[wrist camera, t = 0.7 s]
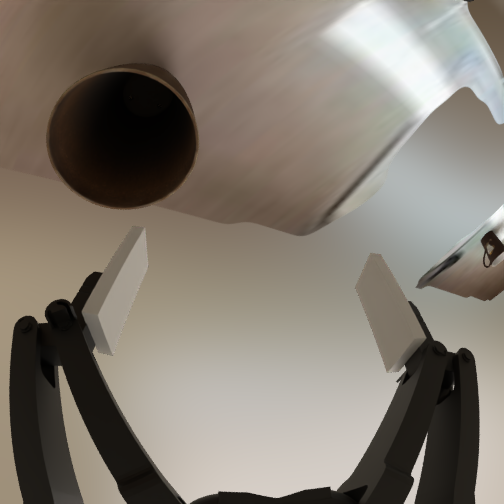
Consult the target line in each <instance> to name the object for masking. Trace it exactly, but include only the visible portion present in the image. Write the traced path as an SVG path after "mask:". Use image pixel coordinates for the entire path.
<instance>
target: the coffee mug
mask: <svg viewBox="0 0 504 504" xmlns="http://www.w3.org/2000/svg"><path fill="white" fill-rule="evenodd" d="M481 243H482V245H483V247H484V249H485V252H484V257H483V264H484V266H485V267H486V268H488V267H490V265H492V266H496V265H497V264H499V263H500V262H501V261H502V260H503V259H504V245H503V244H502V242H501V241H500V240H499V239H498V237H497V236H496V235H495V234H494V233H493V231H490V232H488V233H487V234H485V235H484V237H483V238H482V240H481ZM486 253H487V256H488V258H489V260H490V264H489V266H486V265H485V261H484V260H485V254H486Z"/></svg>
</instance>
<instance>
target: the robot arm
mask: <svg viewBox="0 0 504 504" xmlns="http://www.w3.org/2000/svg"><path fill="white" fill-rule="evenodd" d="M147 268H148V257H147V246H146V233H145V227H139V226H132V228H131V229H130V231H129V232H128V234H127V235H126V237H125V238H124V240H123V242H122V243H121V244H120V246H119V248H118V249H117V251H116V252H115V254H114V256H113V257H112V259H111V261H110V262H109V264H108V266H107V267H106V269H105V270H104V272H103V273H100V272H93V273H92V274H91V275H89V276H88V277H87V278H86V280H85V281H84V283H83V285H82V286H81V288H80V290H79V292H78V293H77V295H76V297H75V298H74V300H73V302H72V303H70V302H69V301H67V300H64V299H59V300H55V301H53V302H51V303H50V304H49V305H48V306H47V308H46V310H45V317H46V319H47V321H48V323H39V324H38V323H37V321H36V319H35V318H34V317H32V316H24V317H22V318H20V319H19V320H18V321H17V322H16V324H15V327H14V331H13V341H12V349H11V362H10V386H9V389H10V390H9V392H10V394H9V397H10V398H9V399H10V423H11V436H12V445H13V453H14V460H15V466H16V471H17V476H18V481H19V486H20V490H21V494H22V498H23V504H84V503H83V499H82V496H81V493H80V490H79V487H78V483H77V480H76V476H75V473H74V469H73V465H72V461H71V457H70V452H69V448H68V443H67V438H66V433H65V427H64V421H63V414H62V406H61V398H60V388H59V378H58V377H59V376H58V366H62V367H63V370H64V373H65V375H66V379H67V381H68V384H69V387H70V389H71V392H72V395H73V397H74V400H75V402H76V405H77V407H78V409H79V412H80V414H81V416H82V419H83V421H84V423H85V425H86V427H87V429H88V431H89V433H90V435H91V438H92V439H93V442H94V443H95V445H96V447H97V449H98V451H99V453H100V455H101V457H102V458H103V460H104V462H105V464H106V465H107V467H108V469H109V470H110V472H111V474H112V475H113V477H114V479H115V480H116V482H117V485H118V489H119V491H120V494H121V495H122V497H123V498H124V500H125V501H126V502H127V504H186V503H185V501H184V500H183V499H182V498H181V497H180V496H179V494H178V493H177V492H176V491H175V490H174V488H173V487H172V486H171V485H170V484H169V483H168V481H167V480H166V479H165V477H164V476H163V475H162V473H161V472H160V471H159V469H158V468H157V467H156V465H155V464H154V462H153V461H152V460H151V458H150V457H149V455H148V454H147V452H146V451H145V449H144V448H143V446H142V445H141V443H140V442H139V440H138V439H137V437H136V435H135V434H134V432H133V431H132V429H131V427H130V425H129V424H128V422H127V420H126V419H125V417H124V415H123V413H122V412H121V410H120V408H119V406H118V404H117V402H116V400H115V399H114V397H113V395H112V393H111V391H110V389H109V387H108V385H107V383H106V381H105V379H104V377H103V375H102V372H101V370H100V368H99V366H98V364H97V361H96V359H95V357H94V355H93V353H92V352H93V349H94V347H95V346H96V348H97V350H98V352H99V353H103V354H107V355H112V356H113V354H114V352H115V349H116V346H117V343H118V340H119V338H120V335H121V332H122V330H123V327H124V324H125V322H126V319H127V317H128V314H129V312H130V309H131V307H132V304H133V301H134V299H135V297H136V294H137V292H138V289H139V287H140V285H141V282H142V280H143V278H144V275H145V273H146V271H147ZM355 288H356V291H357V293H358V296H359V298H360V301H361V303H362V306H363V308H364V310H365V313H366V316H367V318H368V321H369V323H370V326H371V329H372V331H373V334H374V337H375V339H376V342H377V345H378V348H379V351H380V353H381V356H382V359H383V362H384V365H385V368H386V371H387V373H389V372H398V371H399V370H400V369H401V368H402V367H403V366H404V365H405V367H406V371H405V372H404V373H403V374H402V376H401V377H400V378H399V379H398V380H397V381H396V382H399V381H400V380H401V381H400V383H399V386H398V388H397V390H396V393H395V395H394V397H393V400H392V402H391V404H390V406H389V408H388V410H387V413H386V415H385V417H384V419H383V421H382V423H381V425H380V427H379V429H378V430H377V432H376V434H375V436H374V438H373V440H372V442H371V443H370V445H369V447H368V449H367V451H366V452H365V454H364V456H363V458H362V459H361V461H360V462H359V464H358V466H357V467H356V469H355V470H354V472H353V474H352V475H351V476H350V478H349V479H348V480H346V481H345V482H344V483H343V484H342V485H341V486H340V487H339V489H338V490H337V491H333V490H331V489H330V487H324V488H317V489H308V490H303V491H300V492H297V493H294V494H291V495H288V496H284V497H280V498H272V497H266V496H261V495H256V494H252V493H246V492H241V493H240V492H218V494H213V495H209V496H205V497H202V498H199V499H197V500H195V501H193V502H192V503H190V504H404V502H405V500H406V498H407V496H408V494H409V492H410V490H411V488H412V485H413V482H414V478H413V477H412V476H411V472H412V469H413V467H414V465H415V463H416V460H417V458H418V455H419V453H420V450H421V448H422V445H423V443H424V440H425V437H426V435H427V432H428V435H427V443H426V449H425V456H424V462H423V467H422V472H421V478H420V482H419V486H418V490H417V495H416V499H415V504H475V495H474V492H475V485H476V477H477V468H478V456H479V455H478V454H479V396H478V383H477V373H476V365H475V359H474V356H473V354H472V353H471V351H469V350H468V349H466V348H460V349H459V351H458V352H457V353H452V352H448V351H447V349H446V347H445V346H444V345H443V344H442V343H440V342H438V341H434V340H433V338H432V336H431V334H430V332H429V330H428V328H427V326H426V324H425V322H424V321H423V318H422V317H421V315H420V312H419V311H418V309H417V307H416V306H415V305H414V304H413V303H412V302H411V301H407V299H406V297H405V295H404V294H403V292H402V290H401V288H400V286H399V285H398V283H397V281H396V279H395V278H394V276H393V274H392V272H391V271H390V269H389V267H388V266H387V264H386V262H385V261H384V259H383V257H382V256H381V255H380V254H375V253H370V255H369V257H368V260H367V262H366V264H365V267H364V269H363V271H362V273H361V276H360V278H359V280H358V282H357V284H356V287H355ZM453 385H454V390H453Z"/></svg>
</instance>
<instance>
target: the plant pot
mask: <svg viewBox="0 0 504 504" xmlns="http://www.w3.org/2000/svg"><path fill="white" fill-rule="evenodd" d="M129 96H132V99H129ZM158 104H161V107H158V106H157V105H158ZM46 143H47V151H48V155H49V158H50V161H51V164H52V166H53V168H54V170H55V172H56V174H57V175H58V177H59V178H60V179H61V181H62V182H63V183H64V184H65V185H66V186H67V187H68V188H69V189H70V190H71V191H72V192H74V193H75V194H77V195H78V196H79V197H81V198H83V199H85V200H86V201H89V202H91V203H93V204H96V205H99V206H102V207H106V208H111V209H120V210H122V209H123V210H124V209H125V210H127V209H128V210H129V209H139V208H143V207H147V206H151V205H153V204H156V203H158V202H160V201H162V200H164V199H166V198H168V197H169V196H170V195H172V194H173V193H174V192H176V191H177V190H178V189H179V188H180V187H181V186H182V185H183V184H184V183H185V181H186V180H187V179H188V177H189V176H190V174H191V172H192V170H193V168H194V166H195V163H196V160H197V156H198V150H199V134H198V128H197V124H196V120H195V116H194V113H193V109H192V106H191V103H190V101H189V98H188V96H187V94H186V92H185V90H184V89H183V87H182V85H181V84H180V83H179V82H178V80H177V79H176V78H175V77H174V76H173V75H171V74H170V73H169V72H167V71H166V70H164V69H162V68H160V67H157V66H154V65H149V64H125V65H119V66H115V67H111V68H107V69H104V70H101V71H98V72H95V73H92V74H90V75H88V76H86V77H84V78H82V79H80V80H79V81H77V82H76V83H74V84H73V85H72V86H71V87H69V88H68V89H67V90H66V91H65V92H64V93H63V95H62V96H61V97H60V98H59V100H58V101H57V103H56V105H55V106H54V108H53V110H52V113H51V115H50V118H49V121H48V126H47V133H46Z"/></svg>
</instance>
